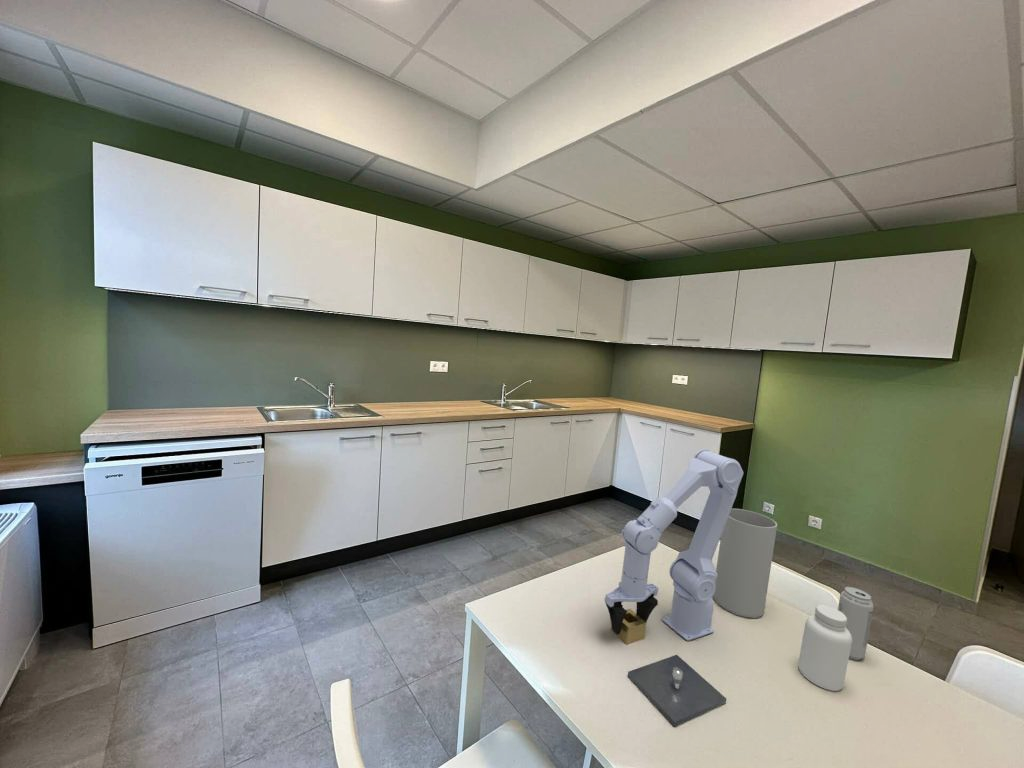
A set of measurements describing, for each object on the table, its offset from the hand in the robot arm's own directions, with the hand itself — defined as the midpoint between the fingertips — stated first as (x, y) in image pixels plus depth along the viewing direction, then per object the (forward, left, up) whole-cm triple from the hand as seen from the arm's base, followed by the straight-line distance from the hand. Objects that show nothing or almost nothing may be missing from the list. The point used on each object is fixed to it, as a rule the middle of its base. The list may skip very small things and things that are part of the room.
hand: (628, 627), depth 95 cm
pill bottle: (-32, +25, -2) cm, 41 cm away
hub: (0, 0, -2) cm, 2 cm away
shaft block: (+2, +16, -2) cm, 16 cm away
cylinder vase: (-39, +1, -2) cm, 39 cm away
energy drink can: (-48, +23, -2) cm, 53 cm away
